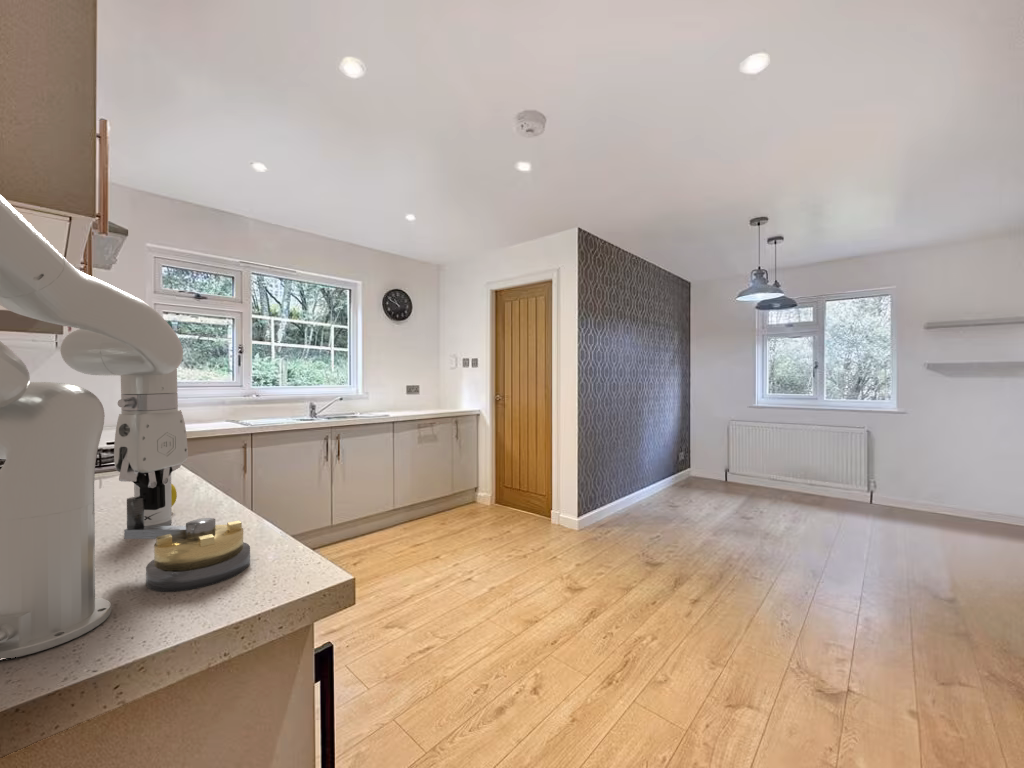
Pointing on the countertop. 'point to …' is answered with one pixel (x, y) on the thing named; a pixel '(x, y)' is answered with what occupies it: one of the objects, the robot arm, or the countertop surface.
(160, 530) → the yellow crank mechanism
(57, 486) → the robot arm
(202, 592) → the countertop surface
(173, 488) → the lemon
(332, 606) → the countertop surface
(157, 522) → the travel mug
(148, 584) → the base
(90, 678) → the countertop surface
